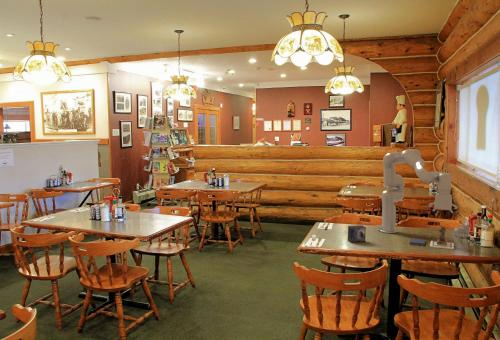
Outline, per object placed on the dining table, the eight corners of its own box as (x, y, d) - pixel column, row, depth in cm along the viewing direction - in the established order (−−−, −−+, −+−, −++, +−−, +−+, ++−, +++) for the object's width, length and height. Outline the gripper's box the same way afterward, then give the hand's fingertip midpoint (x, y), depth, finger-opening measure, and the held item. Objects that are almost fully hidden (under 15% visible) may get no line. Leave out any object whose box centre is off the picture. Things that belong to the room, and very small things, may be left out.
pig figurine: (474, 237, 297) (474, 222, 296) (457, 238, 296) (457, 223, 295) (469, 235, 302) (470, 221, 301) (452, 236, 301) (453, 221, 300)
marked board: (429, 246, 274) (430, 245, 274) (430, 241, 286) (430, 240, 286) (453, 249, 268) (453, 247, 268) (453, 244, 280) (453, 242, 280)
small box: (351, 243, 284) (351, 227, 283) (347, 240, 290) (347, 225, 289) (365, 242, 286) (366, 227, 285) (361, 239, 292) (361, 225, 291)
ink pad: (409, 244, 280) (409, 242, 280) (411, 240, 291) (411, 238, 291) (424, 245, 276) (424, 243, 276) (425, 241, 287) (425, 239, 287)
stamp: (436, 244, 276) (437, 227, 274) (436, 242, 281) (437, 225, 280) (446, 245, 273) (447, 228, 272) (446, 243, 278) (447, 226, 277)
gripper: (429, 191, 274) (427, 217, 276) (458, 194, 267) (457, 220, 269) (429, 190, 281) (428, 215, 283) (458, 192, 273) (456, 218, 275)
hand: (442, 217), depth 276 cm, fingers open, 9 cm apart
